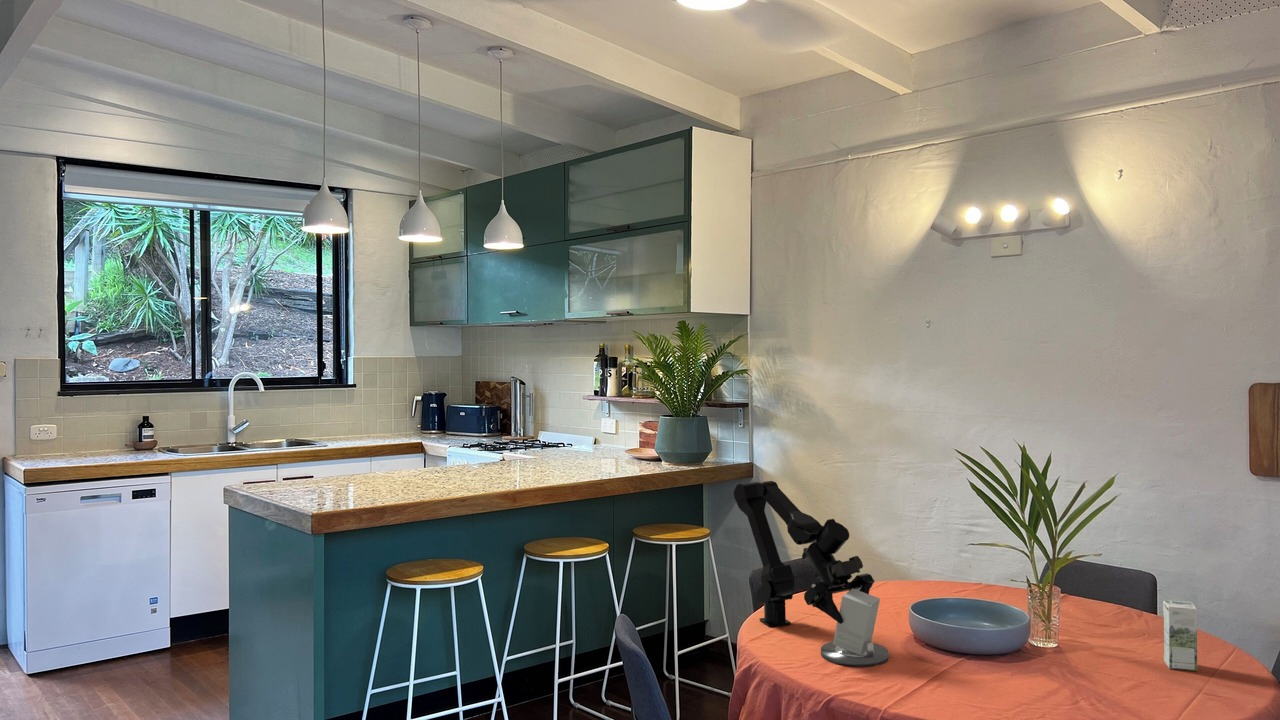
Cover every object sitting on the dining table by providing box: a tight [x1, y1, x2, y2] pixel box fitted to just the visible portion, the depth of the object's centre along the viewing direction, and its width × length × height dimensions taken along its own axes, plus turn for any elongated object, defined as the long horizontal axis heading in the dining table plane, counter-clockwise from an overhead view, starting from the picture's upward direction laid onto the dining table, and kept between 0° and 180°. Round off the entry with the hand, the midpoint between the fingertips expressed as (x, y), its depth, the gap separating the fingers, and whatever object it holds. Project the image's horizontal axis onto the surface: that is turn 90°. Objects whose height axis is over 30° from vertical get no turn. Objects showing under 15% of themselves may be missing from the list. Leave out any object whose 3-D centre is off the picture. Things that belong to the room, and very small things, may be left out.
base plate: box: [820, 640, 890, 668], centre depth 217 cm, size 16×16×4 cm
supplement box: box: [833, 589, 881, 655], centre depth 217 cm, size 7×7×13 cm
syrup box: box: [1162, 599, 1198, 672], centre depth 205 cm, size 6×6×14 cm
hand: (856, 619), depth 216 cm, fingers closed on supplement box, 9 cm apart
